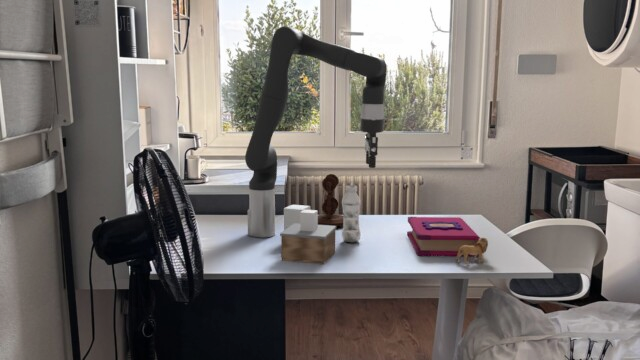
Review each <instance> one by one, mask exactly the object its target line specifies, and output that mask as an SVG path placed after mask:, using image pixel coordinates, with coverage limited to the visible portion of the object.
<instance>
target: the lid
mask: <svg viewBox="0 0 640 360" xmlns="http://www.w3.org/2000/svg"><path fill="white" fill-rule="evenodd" d="M318 213H319V211H318V210H316V209H311V210H303V211H301V212H300V223H294V224H292V225H291V226H290V227H288V228H287V229H286V230H284V229H283V231H282V232H280V234H279V236H280V237H281V236H289V237H302V238H316V239H326V238H327V237H328V236H329V235H330V234H331V233H332V232H333V231H334V230H335V231H336V229H337V226H330V225H318V215H319V214H318Z"/></svg>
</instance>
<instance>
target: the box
mask: <svg viewBox="0 0 640 360" xmlns="http://www.w3.org/2000/svg"><path fill="white" fill-rule="evenodd" d="M280 239H281V241H280V242H281V249H280V250H281V252H280V253H281V255H280V256H281V259H280V260H281V261H286V262H298V263H310V264H320V265H321V264H322V265H325V264H326V263H327V262H328V261H329V260H330V258H331V257H332V256H333V255H335V253H336V229H335V230H334V231H333V232H332V233H331V234H330V235H329V236H328V237H327V238H326V239H316V238H302V237H289V236H280Z"/></svg>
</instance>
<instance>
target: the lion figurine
mask: <svg viewBox="0 0 640 360" xmlns="http://www.w3.org/2000/svg"><path fill="white" fill-rule="evenodd" d="M488 246H489V240H488V238H486V237H483V236H482V237H480V239H478V242H477V244H476V245H474V246H468V245H463V246H461V247H460V249H459V251H458V255H457V256H456V260H455V263H458V262H460V260H461V259H460V257H462V256H461V255H464V257H463V261H464V262H465V263H466V264H470V261H468V260H467V258H468V257H467V256H468V254H470V255H475V257H474V261H479V263H483V260H482V259H483V254H485V253H486V252H487V250H488ZM477 255H479V256H477Z"/></svg>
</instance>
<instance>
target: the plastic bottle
mask: <svg viewBox="0 0 640 360" xmlns="http://www.w3.org/2000/svg"><path fill="white" fill-rule="evenodd" d="M345 191H346V192H345V194H344V196H343V197H342V199H341V205H342V206H341V207H342V215H343V216H344V217H343V219H344V220H343V225H342V228H341V229H342V230H341V238H342V241H343V242H346V243H357V242H359V241H360V240H361V229H360V210H361V209H360V208H361V204H362V203H361V202H362V201H361V198H360V196H359V195H358V193H357V192H358V186H357V185H354V184H352V185H351V184H349V185H346V186H345Z"/></svg>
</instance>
